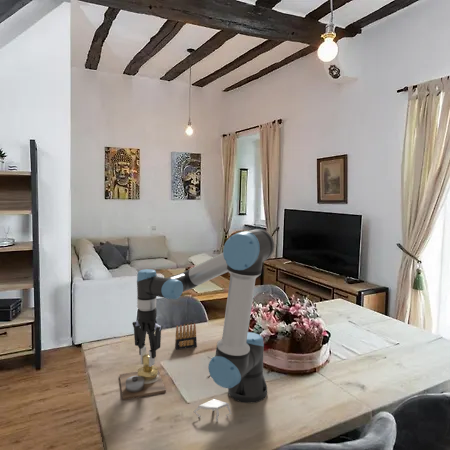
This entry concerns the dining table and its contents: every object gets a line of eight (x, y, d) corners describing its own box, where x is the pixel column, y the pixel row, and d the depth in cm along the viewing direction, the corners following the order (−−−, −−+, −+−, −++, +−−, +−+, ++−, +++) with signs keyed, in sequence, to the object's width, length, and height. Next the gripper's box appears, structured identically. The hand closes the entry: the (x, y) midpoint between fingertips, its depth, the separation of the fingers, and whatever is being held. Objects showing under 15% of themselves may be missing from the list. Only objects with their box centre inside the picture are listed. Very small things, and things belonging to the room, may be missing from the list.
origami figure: (222, 406, 131) (222, 393, 131) (232, 419, 124) (232, 406, 123) (191, 413, 127) (191, 400, 126) (198, 428, 119) (198, 414, 119)
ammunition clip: (195, 345, 183) (195, 322, 182) (196, 346, 181) (196, 323, 180) (175, 348, 179) (174, 324, 178) (175, 349, 178) (175, 326, 176)
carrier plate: (165, 392, 140) (165, 380, 139) (122, 400, 134) (122, 387, 134) (158, 370, 157) (157, 359, 156) (119, 376, 151) (119, 365, 151)
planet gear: (159, 377, 146) (159, 358, 145) (139, 381, 143) (138, 361, 142) (155, 368, 153) (155, 350, 153) (136, 371, 151) (136, 353, 150)
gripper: (169, 308, 146) (169, 364, 148) (136, 302, 153) (137, 356, 155) (158, 314, 139) (159, 372, 141) (124, 307, 146) (125, 363, 148)
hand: (147, 363), depth 148 cm, fingers closed on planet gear, 3 cm apart
